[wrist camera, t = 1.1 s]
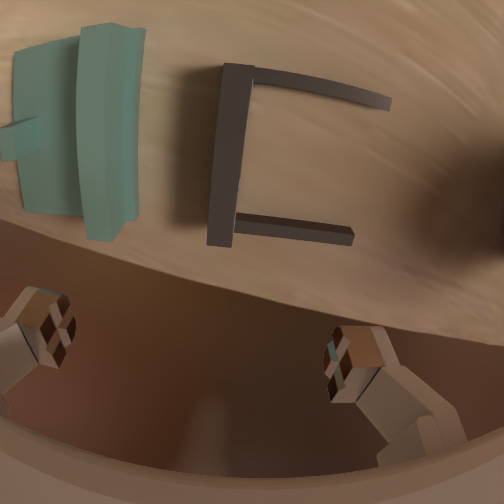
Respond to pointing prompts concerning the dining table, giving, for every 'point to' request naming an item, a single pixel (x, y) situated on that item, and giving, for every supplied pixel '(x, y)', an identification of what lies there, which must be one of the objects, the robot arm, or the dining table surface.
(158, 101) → the dining table surface
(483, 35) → the dining table surface
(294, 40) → the dining table surface
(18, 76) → the display stand
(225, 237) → the glasses frame
